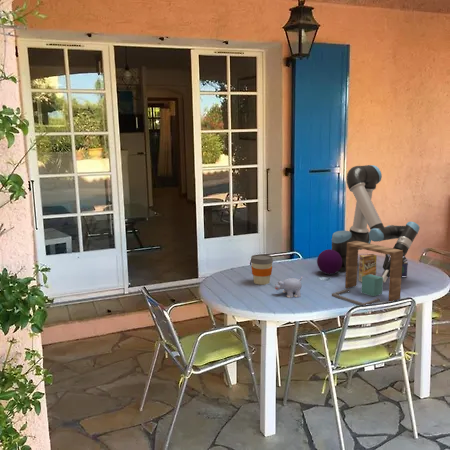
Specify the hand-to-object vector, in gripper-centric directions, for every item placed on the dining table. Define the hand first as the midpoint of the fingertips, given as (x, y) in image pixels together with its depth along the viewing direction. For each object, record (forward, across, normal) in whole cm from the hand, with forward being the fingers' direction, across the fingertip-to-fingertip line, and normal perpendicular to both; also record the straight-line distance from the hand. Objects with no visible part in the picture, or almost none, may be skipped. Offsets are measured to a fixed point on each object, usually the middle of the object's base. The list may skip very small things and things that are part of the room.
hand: (382, 280), depth 266 cm
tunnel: (+10, 0, -3) cm, 10 cm away
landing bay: (+19, 0, -12) cm, 23 cm away
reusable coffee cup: (+33, -51, -26) cm, 67 cm away
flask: (-16, -8, +23) cm, 30 cm away
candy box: (-1, -15, +8) cm, 18 cm away
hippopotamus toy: (+35, -27, -28) cm, 52 cm away
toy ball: (+3, -38, +4) cm, 39 cm away
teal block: (+10, 0, -3) cm, 10 cm away
